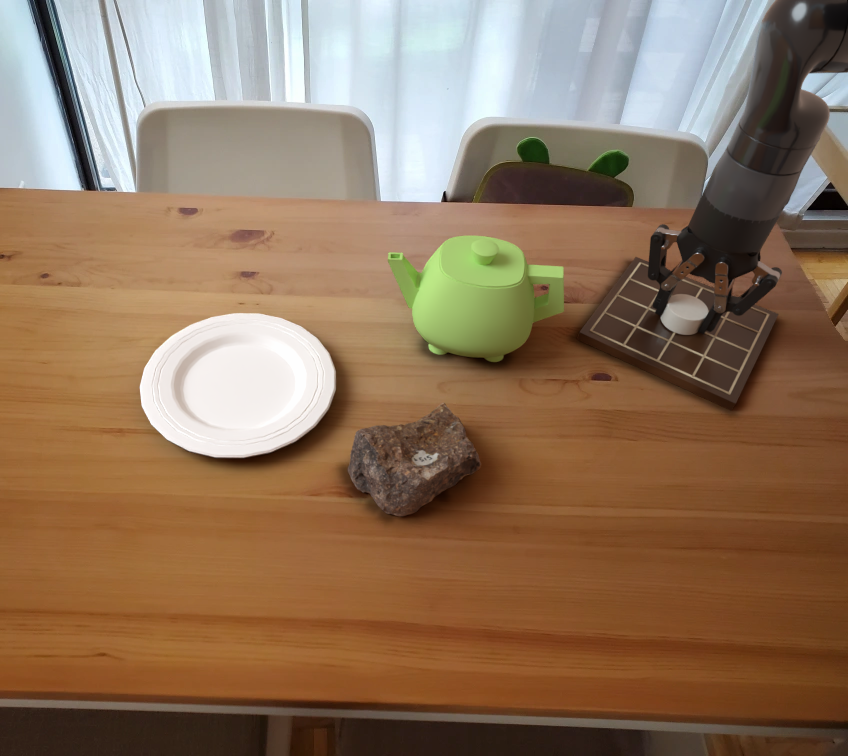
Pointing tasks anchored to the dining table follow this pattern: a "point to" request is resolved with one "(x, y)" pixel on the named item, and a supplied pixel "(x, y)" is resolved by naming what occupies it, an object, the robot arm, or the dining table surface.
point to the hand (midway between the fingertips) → (681, 319)
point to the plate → (238, 385)
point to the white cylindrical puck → (684, 314)
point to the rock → (412, 460)
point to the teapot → (477, 296)
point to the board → (678, 337)
